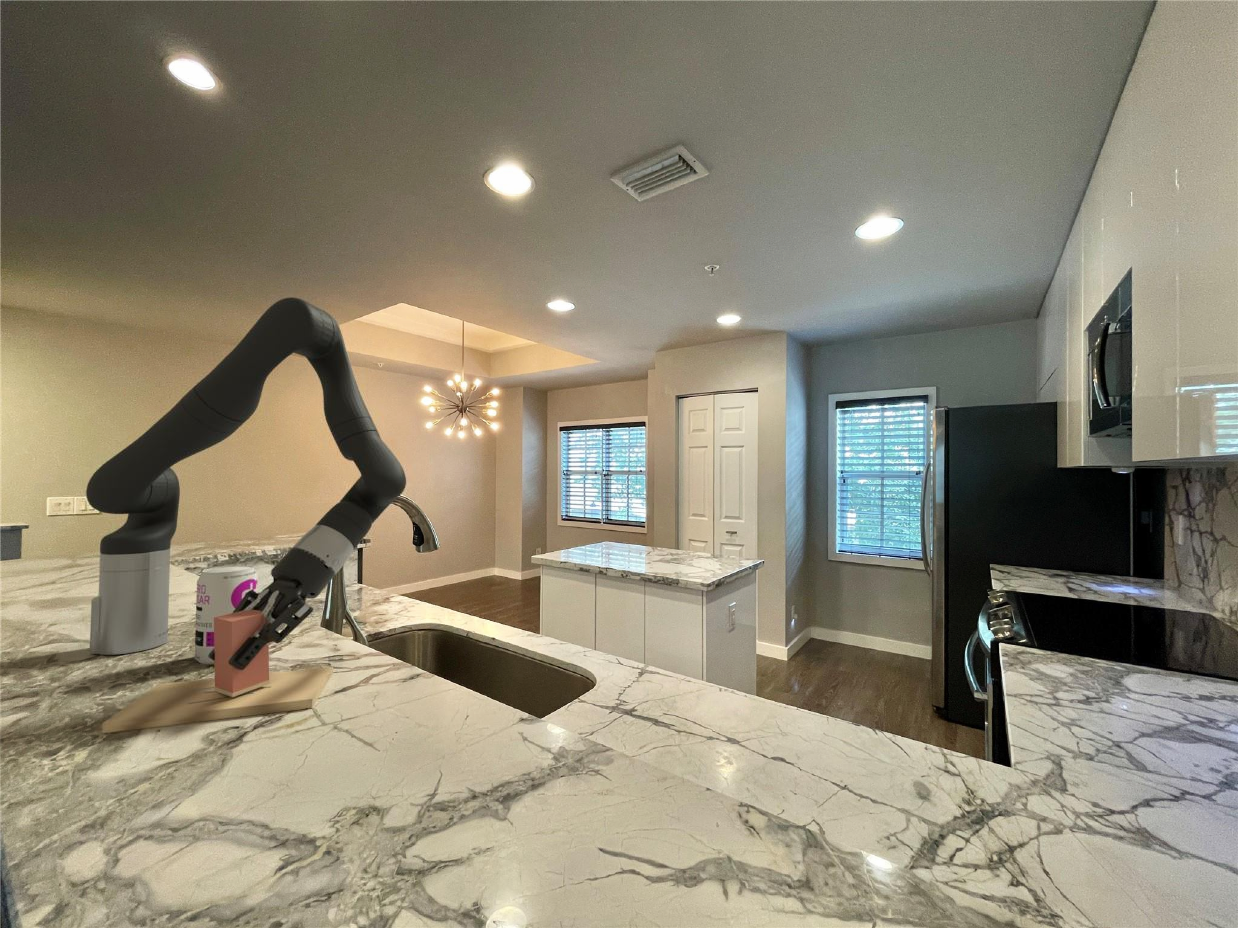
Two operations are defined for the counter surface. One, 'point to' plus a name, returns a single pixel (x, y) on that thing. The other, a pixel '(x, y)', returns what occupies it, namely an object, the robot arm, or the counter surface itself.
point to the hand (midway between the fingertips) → (224, 663)
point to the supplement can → (218, 601)
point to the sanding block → (227, 642)
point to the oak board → (219, 700)
